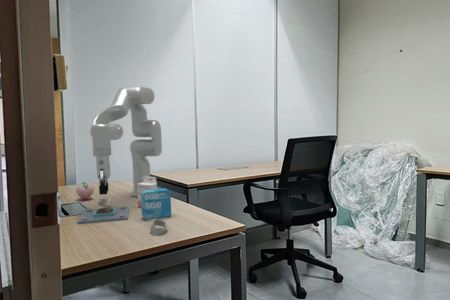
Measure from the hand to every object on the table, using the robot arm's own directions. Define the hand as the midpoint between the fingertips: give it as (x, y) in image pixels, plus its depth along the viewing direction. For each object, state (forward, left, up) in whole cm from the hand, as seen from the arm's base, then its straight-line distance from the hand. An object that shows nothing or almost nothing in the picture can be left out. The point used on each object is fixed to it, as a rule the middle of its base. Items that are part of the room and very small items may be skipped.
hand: (104, 192), depth 153 cm
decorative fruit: (+13, -38, -11) cm, 42 cm away
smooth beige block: (0, 0, -10) cm, 10 cm away
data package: (-22, +10, -11) cm, 26 cm away
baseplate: (0, 0, -11) cm, 11 cm away
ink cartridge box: (-19, -10, -11) cm, 24 cm away
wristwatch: (-22, +30, -11) cm, 39 cm away
